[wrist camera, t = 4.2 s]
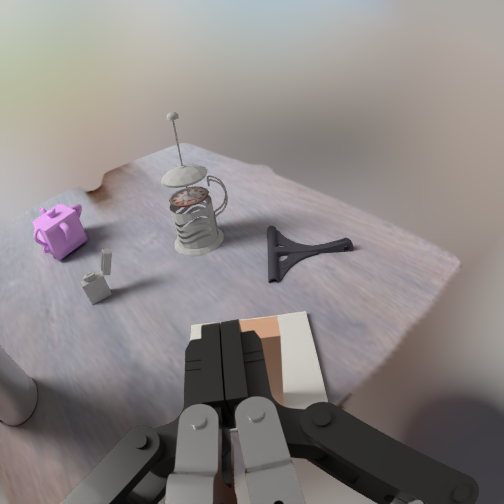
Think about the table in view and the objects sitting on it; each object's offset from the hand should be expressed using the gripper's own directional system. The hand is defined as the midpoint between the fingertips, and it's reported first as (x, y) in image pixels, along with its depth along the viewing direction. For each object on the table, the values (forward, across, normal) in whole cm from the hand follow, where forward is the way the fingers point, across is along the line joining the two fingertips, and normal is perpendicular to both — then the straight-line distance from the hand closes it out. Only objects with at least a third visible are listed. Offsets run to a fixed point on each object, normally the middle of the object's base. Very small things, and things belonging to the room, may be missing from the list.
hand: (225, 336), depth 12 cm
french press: (+44, -6, -20) cm, 49 cm away
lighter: (+32, -23, -21) cm, 45 cm away
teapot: (+52, -40, -19) cm, 68 cm away
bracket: (+35, +12, -22) cm, 44 cm away
